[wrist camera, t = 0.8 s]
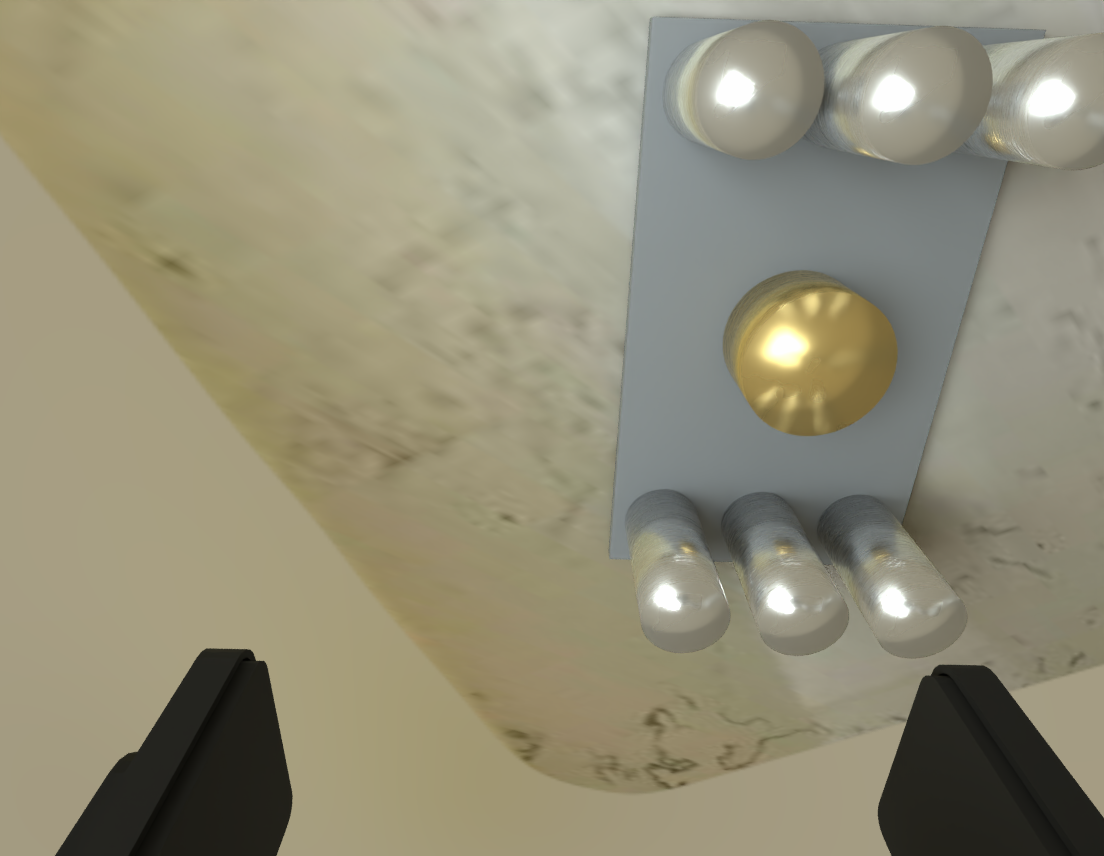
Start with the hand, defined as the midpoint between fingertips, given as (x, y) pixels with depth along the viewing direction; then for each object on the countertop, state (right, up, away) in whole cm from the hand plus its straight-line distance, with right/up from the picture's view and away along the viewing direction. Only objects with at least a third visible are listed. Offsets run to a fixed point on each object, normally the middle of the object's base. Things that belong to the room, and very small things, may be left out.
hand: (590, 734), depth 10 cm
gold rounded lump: (+8, +8, +16) cm, 19 cm away
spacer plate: (+8, +8, +16) cm, 20 cm away
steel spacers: (+8, +8, +16) cm, 20 cm away
